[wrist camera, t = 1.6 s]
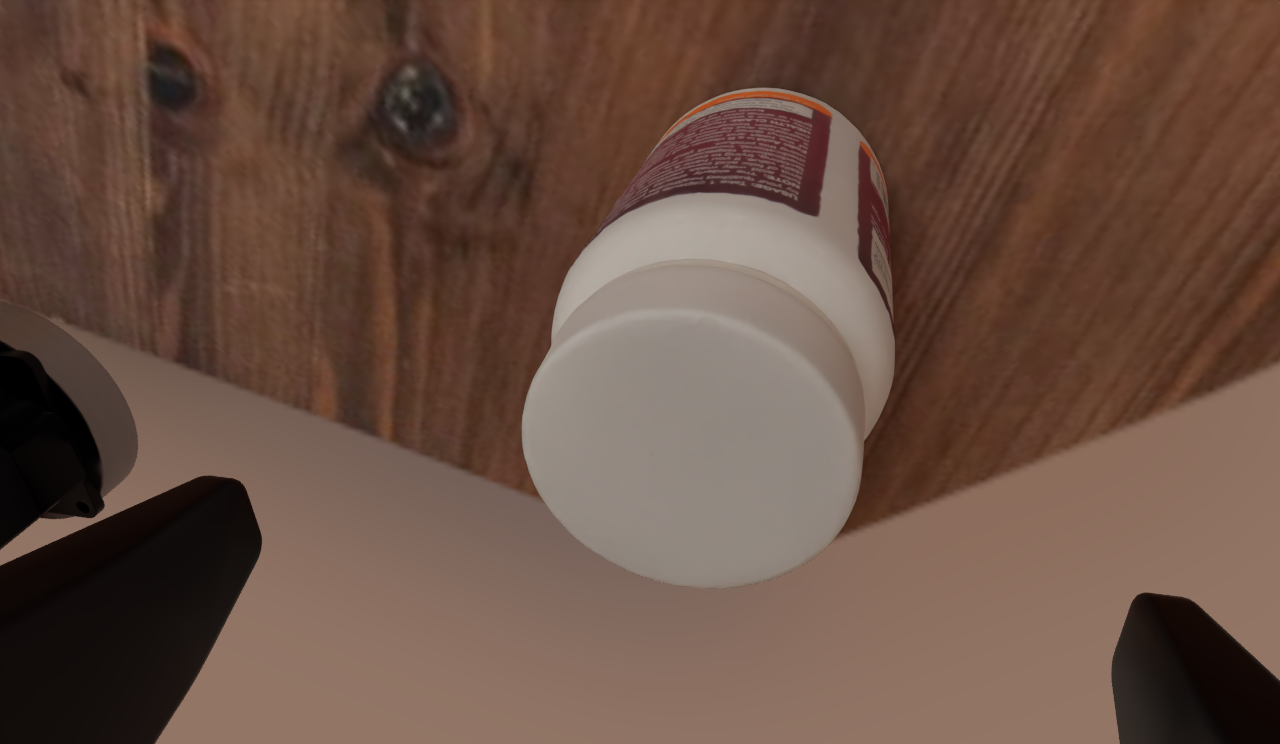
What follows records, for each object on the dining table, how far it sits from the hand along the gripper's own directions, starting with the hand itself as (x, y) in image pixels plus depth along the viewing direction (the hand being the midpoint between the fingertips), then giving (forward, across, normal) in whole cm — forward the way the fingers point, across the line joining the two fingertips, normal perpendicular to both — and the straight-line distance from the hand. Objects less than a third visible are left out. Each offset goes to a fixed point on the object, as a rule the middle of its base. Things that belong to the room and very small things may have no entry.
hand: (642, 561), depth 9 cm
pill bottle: (+10, 0, 0) cm, 10 cm away
